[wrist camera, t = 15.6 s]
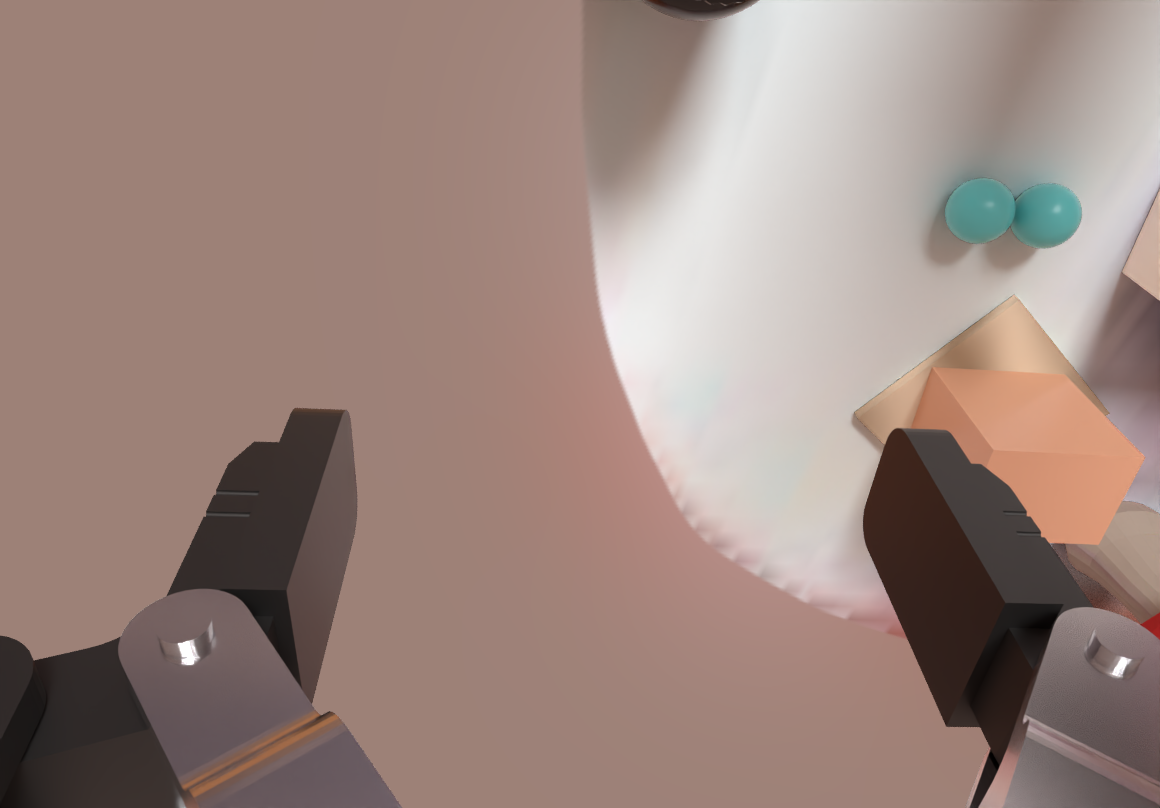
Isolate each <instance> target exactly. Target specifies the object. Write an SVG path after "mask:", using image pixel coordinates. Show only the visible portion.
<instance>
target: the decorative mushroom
mask: <svg viewBox="0 0 1160 808" xmlns="http://www.w3.org/2000/svg"><path fill="white" fill-rule="evenodd" d="M1065 547H1066V551H1067V556H1068V560H1069V562H1070V563H1071V564H1072V565H1073V566H1074V568H1075V569H1076V570H1078V571H1080V572H1082V573H1083V574H1085V575H1087V576H1088V577H1090V578H1092V579H1093V580H1095V581H1097V582H1098V583H1099V584H1100V585H1102V586H1103V587H1104V588H1105V589H1106V590H1108V591H1109V592H1110V593H1111V594H1112V595H1113V596H1114V597H1115V598H1116V599H1118V600H1119V601H1120V602H1121V603H1122V604H1123V605H1124V606H1125V607H1126V608H1127V609H1128V610H1129V611H1130V612H1131V613H1132V614H1133V615H1134V616H1135V618H1136V619H1137V620H1138V621H1139V622H1140V623H1141V624H1140V625H1141V626H1143V627H1144V628H1146V629H1147V630H1148V631H1150V632H1151V633H1152V634H1154V635H1155V636H1156V637H1157V638H1158V639H1159V640H1160V514H1159V513H1158V512H1156V511H1154V510H1152V509H1150V508H1149V507H1147V506H1145V505H1143V504H1139V503H1135V502H1130V501H1122V502H1121V504H1120V506H1119V508H1118V510H1117V512H1116V513H1115V515H1114V517H1113V519H1112V521H1111V523H1110V525H1109V527H1108V528H1107V530H1106V532H1105V534H1104V536H1103V538H1102V540H1101V542H1100V543H1099V545H1092V544H1066V543H1065Z"/></svg>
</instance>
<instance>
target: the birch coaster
mask: <svg viewBox="0 0 1160 808" xmlns="http://www.w3.org/2000/svg"><path fill="white" fill-rule="evenodd" d="M932 367H941V368H959V369H977V370H994V371H1012V372H1030V373H1048V374H1065V375H1066V376H1067V377H1068V378H1069V379H1070V380H1071V381H1072V382H1073V383H1074V384H1075V385H1076V387H1077V388H1078V389H1079V390H1080V391H1081V392H1082V393H1083V394H1084V395H1085V396H1086V397H1087V398H1088V399H1089V400H1090V401H1091V402H1092V403H1093V404H1094V405H1095V406H1096V407H1097V408H1098V409H1099V410H1100V411H1101V412H1102V413H1103V414H1104V415H1105V416H1106V415H1108V414H1109V412H1108V411H1107V409H1106V408H1105V407H1104V406H1103V404H1102V403H1101V402H1100V401H1099V399H1098V398H1097V397H1096V395H1095V394H1094V393H1093V392H1092V390H1091V389H1090V388H1089V387H1088V385H1087V384H1086V383H1085V382H1084V380H1083V379H1082V378H1081V377H1080V375H1079V374H1078V373H1077V372H1076V370H1075V369H1074V368H1073V367H1072V365H1071V364H1070V363H1069V362H1068V360H1067V359H1066V358H1065V357H1064V355H1063V354H1062V353H1061V352H1060V350H1059V349H1058V348H1057V346H1056V345H1055V344H1054V343H1053V341H1052V340H1051V339H1050V338H1049V336H1048V335H1047V334H1046V333H1045V331H1044V330H1043V329H1042V328H1041V326H1040V325H1039V324H1038V323H1037V321H1036V320H1035V319H1034V318H1033V316H1032V315H1031V314H1030V313H1029V311H1028V310H1027V309H1026V308H1025V306H1024V305H1023V304H1022V303H1021V301H1020V300H1019V299H1018V298H1017V297H1016V296H1015V295H1013V296H1012V297H1010V298H1009V299H1008V300H1006V301H1005V302H1003V303H1002V304H1001V305H999V306H998V307H997V308H995V309H994V310H993V311H991V312H990V313H989V314H987V315H986V316H984V317H983V318H982V319H980V320H979V321H978V322H976V323H975V324H974V325H972V326H971V327H970V328H968V329H967V330H965V331H964V332H963V333H961V334H960V335H959V336H957V337H956V338H955V339H953V340H952V341H951V342H949V343H948V344H946V345H945V346H944V347H942V348H941V349H940V350H938V351H937V352H936V353H934V354H933V355H932V356H930V357H929V358H928V359H926V360H925V361H923V362H922V363H921V364H919V365H918V366H917V367H915V368H914V369H913V370H911V371H910V372H909V373H907V374H906V375H904V376H903V377H902V378H900V379H899V380H898V381H896V382H895V383H894V384H892V385H891V386H890V387H888V388H887V389H885V390H884V391H883V392H881V393H880V394H879V395H877V396H876V397H875V398H873V399H872V400H871V401H869V402H868V403H866V404H865V405H864V406H862V407H861V408H860V409H858V410H857V411H856V412H854V413H855V415H856V417H857V418H858V419H859V420H860V421H861V422H862V423H863V424H864V425H865V426H866V427H867V428H868V429H869V430H870V431H871V432H872V433H873V434H874V435H875V436H876V437H877V438H878V439H879V440H880V441H881V442H882V443H883V444H884V445H885V443H886V441H887V438H888V436H889V434H890V433H891V432H892V431H893V430H894V429H896V428H910V429H911V426H912V423H913V420H914V417H915V414H916V412H917V409H918V406H919V403H920V400H921V397H922V394H923V392H924V389H925V386H926V383H927V380H928V377H929V374H930V372H931V369H932Z"/></svg>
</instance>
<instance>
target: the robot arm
mask: <svg viewBox="0 0 1160 808" xmlns="http://www.w3.org/2000/svg"><path fill="white" fill-rule="evenodd" d="M356 519H357V487H356V475H355V464H354V452H353V441H352V429H351V420H350V415H349V412H348V411H347V410H335V409H334V410H333V409H307V408H295V409H293V411H292V412H291V414H290V417H289V420H288V422H287V424H286V427H285V429H284V432H283V434H282V437H281V439H280V442H279V443H278V442H253V443H252V444H251V445H250V446H249V447H247V448H246V449H245V450H244V451H243V452H242V453H241V454H239V455H238V456H237V457H236V458H235V459H234V460H232V461H231V462H230V463H229V464H228V466H227V468H226V470H225V473H224V475H223V477H222V479H221V481H220V483H219V485H218V488H217V489H216V495H214V496H213V498H212V500H211V502H210V504H209V507H208V509H207V511H206V517H203V520H202V522H201V524H200V526H199V528H198V530H197V532H196V534H195V537H194V539H193V541H192V543H191V545H190V548H189V549H188V551H187V554H186V556H185V558H184V560H183V562H182V564H181V566H180V568H179V571H178V573H177V575H176V577H175V579H174V581H173V584H172V586H171V588H170V590H169V592H168V594H167V596H166V597H163V598H162V599H159V600H157V601H155V602H154V603H152V604H150V605H149V606H147V607H146V608H144V609H143V610H142V611H140V612H139V613H138V614H137V615H136V616H135V617H134V618H133V619H132V620H131V621H130V622H129V624H128V625H127V626H126V628H125V629H124V631H123V633H122V636H121V637H119V638H117V639H115V640H112V641H110V642H107V643H104V644H102V645H99V646H95V647H91V648H87V649H83V650H79V651H74V652H70V653H65V654H61V655H57V656H53V657H48V658H43V659H39V660H35V661H33V658H32V656H31V654H30V651H29V650H28V649H27V648H26V647H25V646H24V645H23V644H22V643H20V642H19V641H17V640H15V639H12V638H9V637H5V636H0V808H402V807H401V805H400V804H399V802H398V801H397V800H396V798H395V796H394V795H393V793H392V792H391V790H390V789H389V788H388V786H387V785H386V783H385V782H384V780H383V779H382V777H381V776H380V774H379V773H378V771H377V770H376V769H375V767H374V766H373V764H372V763H371V761H370V760H369V758H368V757H367V755H366V754H365V753H364V751H363V750H362V748H361V747H360V745H359V744H358V742H357V741H356V740H355V738H354V736H353V735H352V734H351V732H350V731H349V729H348V728H347V726H346V725H345V724H344V722H343V721H342V720H341V719H340V718H339V717H338V716H337V715H336V714H335V713H333V712H330V711H329V712H327V713H325V714H323V715H320V714H319V713H318V712H317V711H316V710H315V708H314V707H313V706H312V702H313V698H314V694H315V690H316V686H317V682H318V678H319V674H320V669H321V665H322V661H323V658H324V654H325V650H326V646H327V642H328V638H329V634H330V630H331V626H332V622H333V618H334V614H335V610H336V606H337V602H338V598H339V594H340V590H341V586H342V582H343V578H344V574H345V570H346V566H347V562H348V558H349V554H350V550H351V546H352V542H353V538H354V534H355V527H356ZM863 531H864V538H865V543H866V546H867V549H868V551H869V553H870V556H871V558H872V560H873V562H874V565H875V567H876V569H877V571H878V574H879V576H880V578H881V580H882V583H883V585H884V587H885V589H886V592H887V594H888V596H889V598H890V601H891V603H892V605H893V607H894V610H895V612H896V614H897V616H898V619H899V621H900V623H901V625H902V628H903V630H904V632H905V634H906V637H907V639H908V641H909V643H910V646H911V648H912V650H913V652H914V655H915V657H916V659H917V662H918V664H919V666H920V668H921V671H922V673H923V675H924V677H925V680H926V682H927V684H928V686H929V688H930V691H931V693H932V695H933V697H934V700H935V702H936V704H937V706H938V709H939V711H940V713H941V716H942V718H943V720H944V722H945V725H946V726H947V727H980V728H981V730H982V732H983V734H984V736H985V738H986V740H987V742H988V744H989V748H988V750H987V752H986V754H985V756H984V758H983V760H982V763H981V766H980V768H979V771H978V774H977V777H976V780H975V782H974V785H973V788H972V791H971V793H970V796H969V799H968V802H967V804H966V807H965V808H1160V640H1159V639H1158V638H1157V637H1156V636H1155V635H1154V634H1152V633H1151V632H1150V631H1148V630H1147V629H1146V628H1144V627H1143V626H1141V625H1139V624H1138V623H1136V622H1134V621H1132V620H1130V619H1128V618H1126V617H1124V616H1122V615H1119V614H1116V613H1114V612H1111V611H1107V610H1103V609H1098V608H1094V607H1093V606H1092V604H1091V603H1090V602H1089V600H1088V599H1087V597H1086V596H1085V594H1084V593H1083V591H1082V590H1081V589H1080V587H1079V586H1078V584H1077V583H1076V581H1075V580H1074V578H1073V577H1072V576H1071V574H1070V573H1069V571H1068V570H1067V568H1066V567H1065V565H1064V564H1063V563H1062V561H1061V560H1060V558H1059V557H1058V555H1057V554H1056V552H1055V551H1054V550H1053V548H1052V547H1051V545H1050V544H1049V542H1048V541H1047V540H1046V538H1045V537H1041V531H1040V529H1039V528H1038V527H1037V525H1036V524H1035V522H1034V521H1033V519H1032V518H1031V516H1027V511H1026V509H1025V508H1024V506H1023V505H1022V503H1021V502H1020V501H1019V499H1018V498H1017V496H1016V495H1015V493H1014V492H1013V490H1012V489H1011V488H1010V486H1009V485H1007V484H1006V483H1005V482H1003V481H1002V480H1001V479H1000V478H998V477H997V476H996V475H995V474H993V473H992V472H991V471H989V470H988V469H987V468H986V467H984V466H983V465H982V464H971V462H970V461H969V459H968V458H967V456H966V455H965V453H964V452H963V450H962V449H961V447H960V446H959V444H958V443H957V441H956V440H955V438H954V437H953V435H952V434H951V433H950V432H949V431H947V430H938V429H910V428H896V429H894V430H893V431H892V432H891V433H890V434H889V436H888V438H887V441H886V443H885V446H884V450H883V453H882V456H881V459H880V462H879V465H878V468H877V471H876V474H875V477H874V480H873V483H872V487H871V490H870V493H869V496H868V499H867V502H866V505H865V509H864V516H863Z"/></svg>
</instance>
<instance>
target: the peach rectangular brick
mask: <svg viewBox="0 0 1160 808" xmlns="http://www.w3.org/2000/svg"><path fill="white" fill-rule="evenodd" d="M911 429H938V430H947V431H949V432H950V433H951V434H952V435H953V437H954V438H955V440H956V441H957V443H958V444H959V446H960V447H961V449H962V450H963V452H964V453H965V455H966V456H967V458H968V459H969V461H970V462H971V464H982V465H983V466H984V467H986V468H987V469H988V470H989V471H991V472H992V473H993V474H995V475H996V476H997V477H998V478H1000V479H1001V480H1002V481H1003V482H1005V483H1006V484H1007V485H1009V486H1010V488H1011V489H1012V490H1013V492H1014V493H1015V495H1016V496H1017V498H1018V499H1019V501H1020V502H1021V503H1022V505H1023V506H1024V508H1025V509H1026V511H1027V516H1031V518H1032V519H1033V521H1034V522H1035V524H1036V525H1037V527H1038V528H1039V529H1040V531H1041V537H1045V538H1046V540H1047V541H1048V542H1049V543H1066V544H1092V545H1099V543H1100V542H1101V540H1102V538H1103V536H1104V534H1105V532H1106V530H1107V528H1108V527H1109V525H1110V523H1111V521H1112V519H1113V517H1114V515H1115V513H1116V512H1117V510H1118V508H1119V506H1120V504H1121V502H1122V500H1123V498H1124V497H1125V495H1126V493H1127V491H1128V489H1129V487H1130V485H1131V484H1132V482H1133V480H1134V478H1135V476H1136V474H1137V472H1138V470H1139V469H1140V467H1141V465H1142V463H1143V461H1144V459H1145V457H1144V455H1143V454H1142V453H1141V452H1140V451H1139V450H1138V449H1137V448H1136V447H1135V446H1134V445H1133V444H1132V443H1131V442H1130V441H1129V440H1128V439H1127V438H1126V437H1125V436H1124V435H1123V434H1122V433H1121V432H1120V431H1119V430H1118V429H1117V428H1116V427H1115V426H1114V425H1113V424H1112V423H1111V422H1110V420H1109V419H1108V418H1107V417H1106V416H1105V415H1104V414H1103V413H1102V412H1101V411H1100V410H1099V409H1098V408H1097V407H1096V406H1095V405H1094V404H1093V403H1092V402H1091V401H1090V400H1089V399H1088V398H1087V397H1086V396H1085V395H1084V394H1083V393H1082V392H1081V391H1080V390H1079V389H1078V388H1077V387H1076V385H1075V384H1074V383H1073V382H1072V381H1071V380H1070V379H1069V378H1068V377H1067V376H1066V375H1065V374H1048V373H1030V372H1012V371H994V370H977V369H959V368H941V367H932V369H931V372H930V374H929V377H928V380H927V383H926V386H925V389H924V392H923V394H922V397H921V400H920V403H919V406H918V409H917V412H916V414H915V417H914V420H913V423H912V426H911Z"/></svg>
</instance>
